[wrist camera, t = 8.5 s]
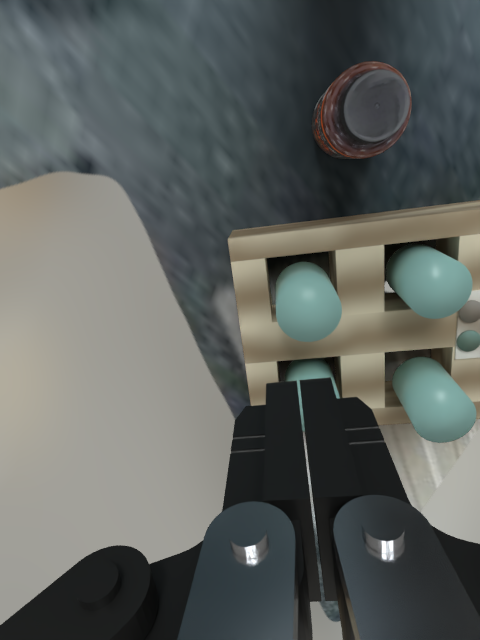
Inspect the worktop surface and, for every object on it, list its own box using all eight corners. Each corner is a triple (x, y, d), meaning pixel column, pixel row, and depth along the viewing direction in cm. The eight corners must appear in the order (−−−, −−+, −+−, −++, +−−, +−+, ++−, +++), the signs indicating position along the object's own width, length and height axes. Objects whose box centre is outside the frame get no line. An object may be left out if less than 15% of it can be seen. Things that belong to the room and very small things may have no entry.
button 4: (385, 246, 35) (406, 261, 30) (442, 240, 35) (474, 254, 29) (385, 298, 37) (405, 321, 31) (439, 292, 36) (470, 315, 31)
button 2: (272, 264, 34) (272, 284, 29) (329, 258, 34) (340, 277, 28) (277, 316, 36) (279, 344, 30) (331, 311, 36) (343, 338, 30)
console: (232, 230, 39) (227, 240, 34) (495, 198, 36) (531, 203, 31) (256, 405, 46) (254, 435, 41) (477, 390, 43) (505, 420, 38)
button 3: (392, 359, 37) (413, 393, 31) (446, 354, 36) (478, 389, 31) (391, 403, 38) (412, 444, 33) (444, 400, 38) (474, 440, 32)
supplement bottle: (298, 111, 35) (309, 88, 24) (360, 67, 33) (402, 22, 23) (330, 172, 36) (354, 176, 26) (391, 134, 35) (443, 121, 24)
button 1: (282, 357, 40) (284, 388, 34) (331, 353, 39) (341, 384, 34) (286, 398, 42) (289, 434, 36) (333, 395, 41) (343, 431, 36)
